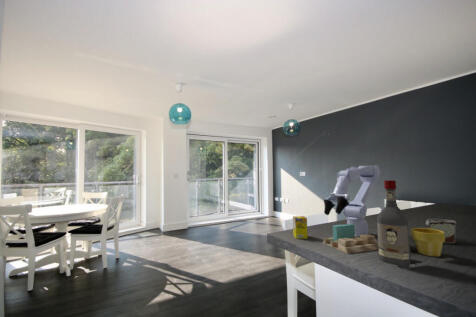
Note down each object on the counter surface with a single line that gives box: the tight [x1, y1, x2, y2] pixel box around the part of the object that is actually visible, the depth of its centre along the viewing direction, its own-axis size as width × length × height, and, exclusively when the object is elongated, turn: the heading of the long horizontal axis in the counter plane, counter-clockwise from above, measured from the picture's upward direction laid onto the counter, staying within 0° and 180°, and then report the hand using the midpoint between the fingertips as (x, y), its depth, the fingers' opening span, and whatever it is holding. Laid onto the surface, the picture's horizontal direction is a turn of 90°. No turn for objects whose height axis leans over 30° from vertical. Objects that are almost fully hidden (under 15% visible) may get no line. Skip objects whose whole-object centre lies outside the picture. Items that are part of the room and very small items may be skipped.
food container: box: [425, 218, 458, 244], centre depth 110 cm, size 12×6×10 cm, turn 84°
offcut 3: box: [359, 233, 376, 245], centre depth 100 cm, size 4×4×4 cm
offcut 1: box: [337, 238, 354, 252], centre depth 97 cm, size 4×4×4 cm
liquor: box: [376, 179, 412, 269], centre depth 85 cm, size 9×9×30 cm
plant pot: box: [410, 227, 445, 257], centre depth 91 cm, size 10×10×10 cm
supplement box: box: [292, 215, 308, 240], centre depth 117 cm, size 6×6×11 cm
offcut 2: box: [351, 237, 365, 246], centre depth 99 cm, size 5×4×4 cm
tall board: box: [332, 223, 355, 241], centre depth 106 cm, size 10×2×8 cm, turn 107°
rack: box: [321, 235, 379, 255], centre depth 102 cm, size 18×16×3 cm
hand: (331, 213), depth 109 cm, fingers open, 7 cm apart
